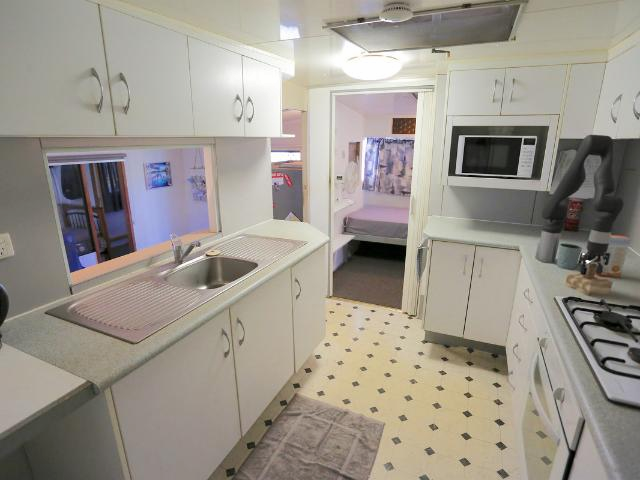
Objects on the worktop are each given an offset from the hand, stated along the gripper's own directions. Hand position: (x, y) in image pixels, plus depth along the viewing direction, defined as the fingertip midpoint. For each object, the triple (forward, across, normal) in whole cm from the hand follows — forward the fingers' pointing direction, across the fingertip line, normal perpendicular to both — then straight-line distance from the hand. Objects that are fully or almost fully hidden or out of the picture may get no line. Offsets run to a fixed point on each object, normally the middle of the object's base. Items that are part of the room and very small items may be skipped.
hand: (590, 274), depth 166 cm
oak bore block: (+8, 0, 0) cm, 8 cm away
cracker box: (+8, -26, -15) cm, 31 cm away
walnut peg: (+6, 0, 0) cm, 6 cm away
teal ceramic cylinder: (+8, -17, -28) cm, 34 cm away
